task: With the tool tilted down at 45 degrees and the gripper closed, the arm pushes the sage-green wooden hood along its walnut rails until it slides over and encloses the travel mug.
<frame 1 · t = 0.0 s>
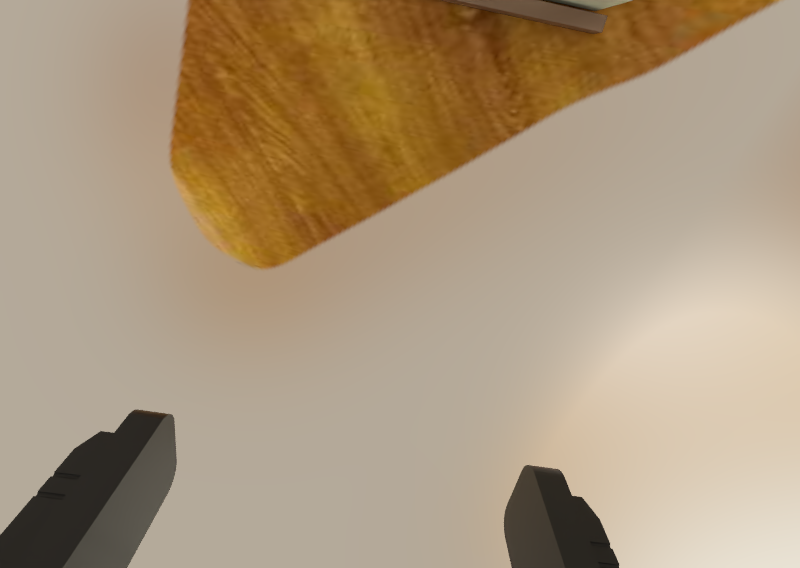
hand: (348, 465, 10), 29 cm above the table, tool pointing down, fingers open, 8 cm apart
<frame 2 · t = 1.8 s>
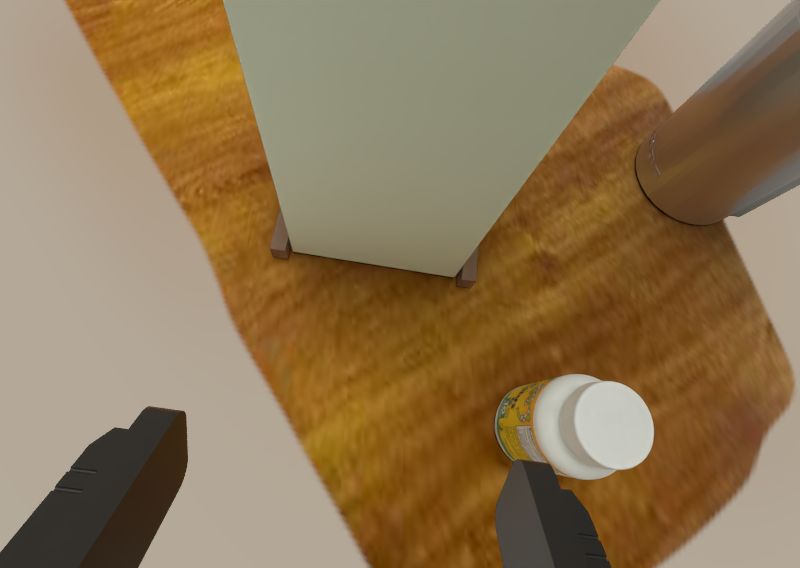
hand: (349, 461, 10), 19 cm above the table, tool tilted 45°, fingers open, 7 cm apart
supplement bottle: (530, 425, 30), on the table
hood: (406, 85, 22), point 12 cm above the table, slide at 0.0 cm
rails: (391, 154, 35), on the table
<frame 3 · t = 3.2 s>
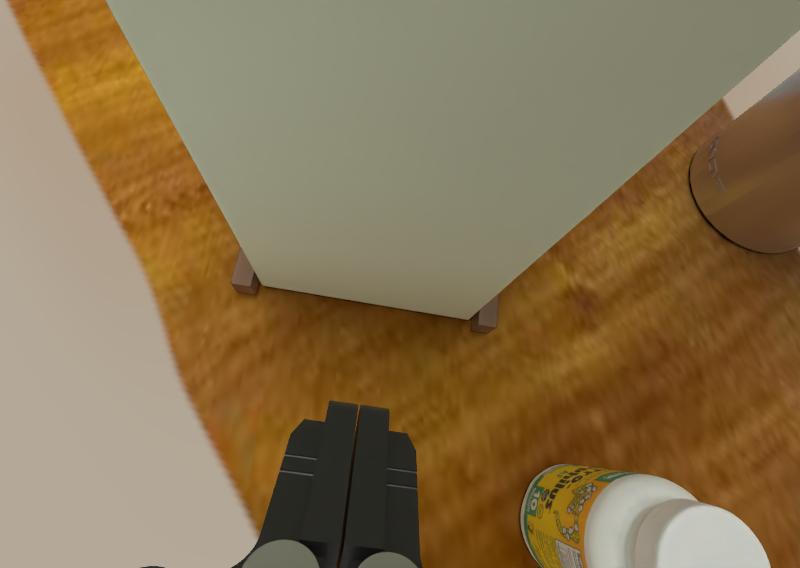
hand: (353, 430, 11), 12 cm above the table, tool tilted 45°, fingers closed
supplement bottle: (565, 518, 23), on the table
hood: (409, 66, 15), point 12 cm above the table, slide at 0.0 cm
rails: (390, 162, 28), on the table
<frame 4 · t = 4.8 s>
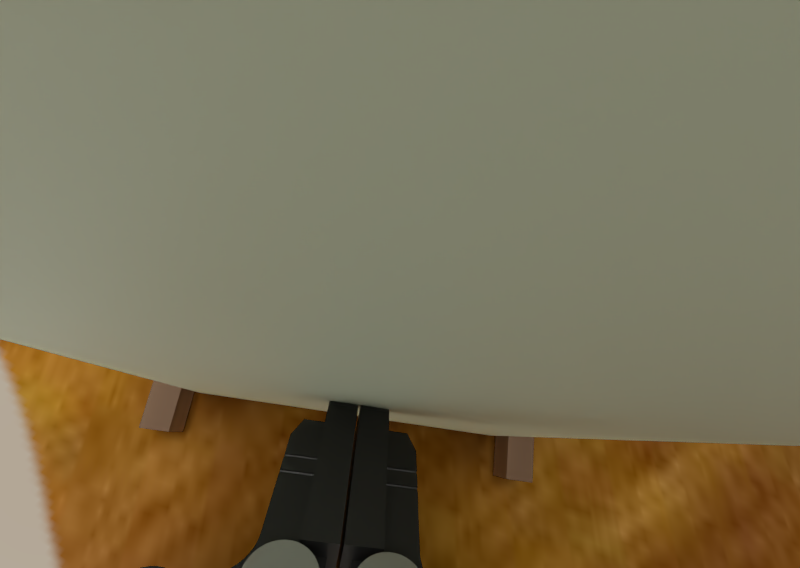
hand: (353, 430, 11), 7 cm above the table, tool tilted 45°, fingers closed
hood: (410, 100, 8), point 12 cm above the table, slide at 1.0 cm, touching gripper
rails: (380, 225, 21), on the table
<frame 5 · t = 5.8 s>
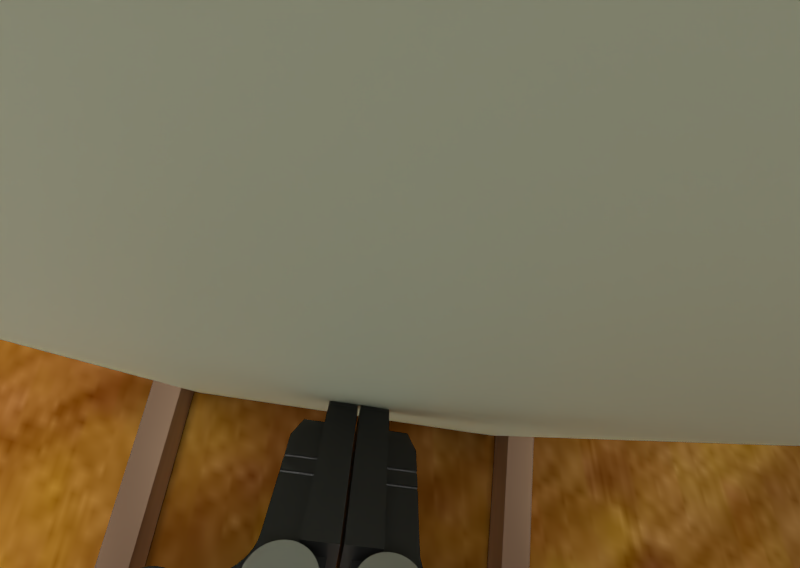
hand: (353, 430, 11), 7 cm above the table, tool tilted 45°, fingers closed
hood: (410, 99, 8), point 12 cm above the table, slide at 6.7 cm, touching gripper
rails: (360, 345, 19), on the table
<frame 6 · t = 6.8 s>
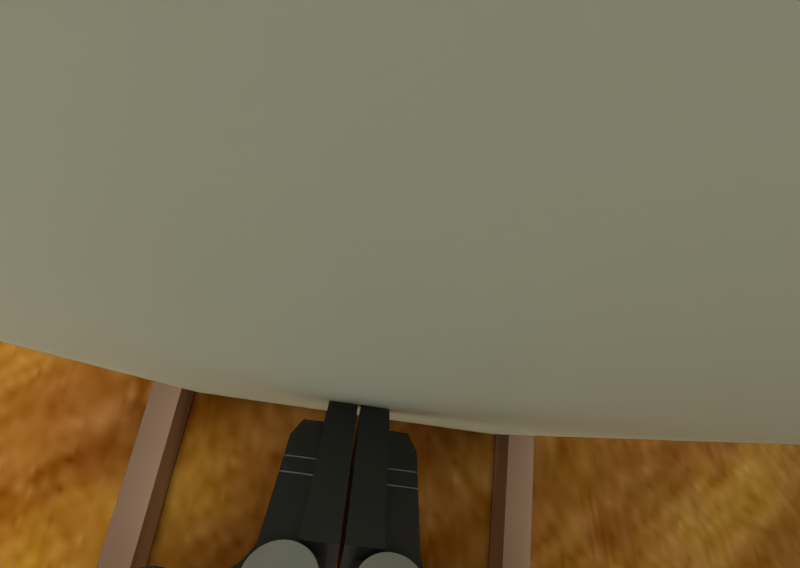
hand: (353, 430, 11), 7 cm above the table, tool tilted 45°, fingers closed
hood: (409, 99, 8), point 12 cm above the table, slide at 8.9 cm, touching gripper
rails: (351, 399, 18), on the table
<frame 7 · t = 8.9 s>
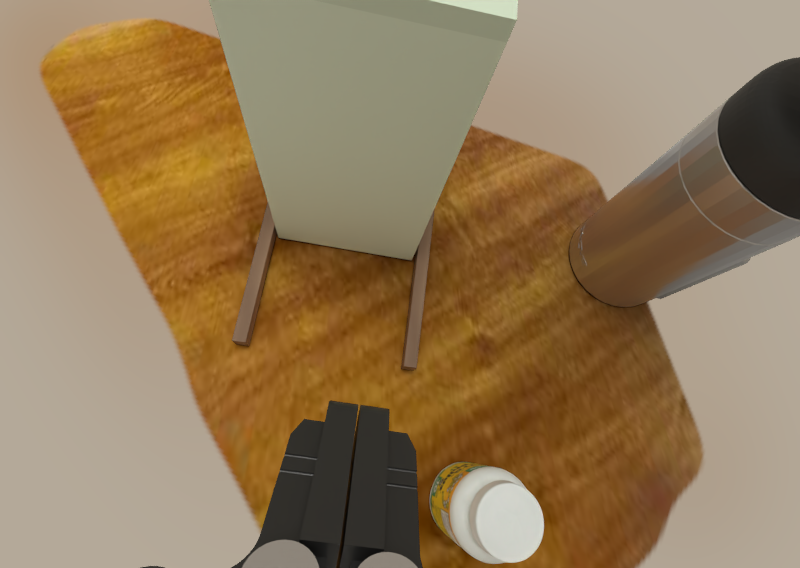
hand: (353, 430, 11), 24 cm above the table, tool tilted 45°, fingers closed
supplement bottle: (462, 498, 34), on the table
hood: (362, 106, 29), point 12 cm above the table, slide at 8.9 cm
rails: (347, 244, 39), on the table
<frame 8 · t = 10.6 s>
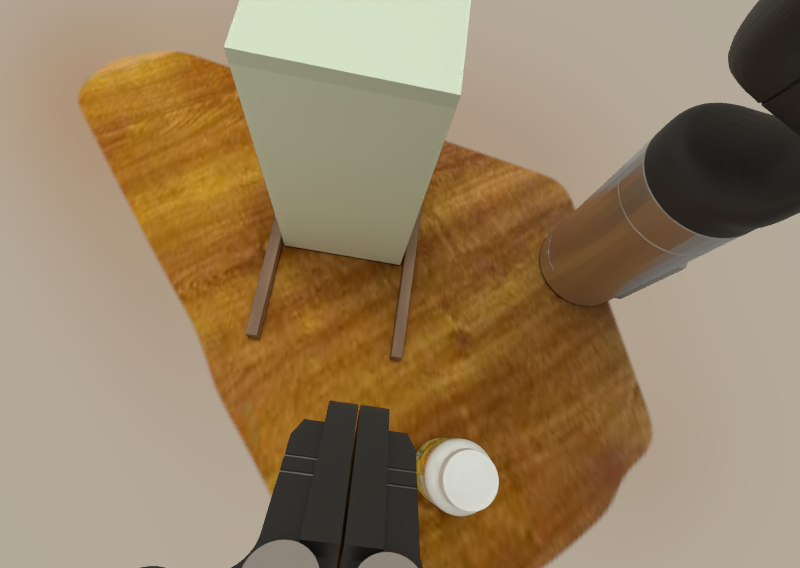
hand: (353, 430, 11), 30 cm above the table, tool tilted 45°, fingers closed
supplement bottle: (440, 468, 40), on the table
hood: (354, 139, 34), point 12 cm above the table, slide at 8.9 cm
rails: (343, 251, 45), on the table
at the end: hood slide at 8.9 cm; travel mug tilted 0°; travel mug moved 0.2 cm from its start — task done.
